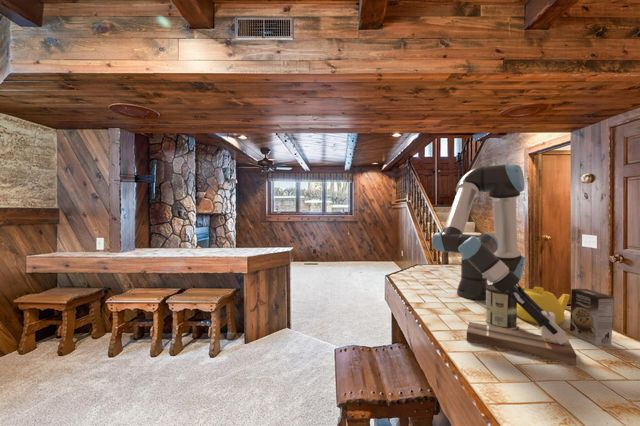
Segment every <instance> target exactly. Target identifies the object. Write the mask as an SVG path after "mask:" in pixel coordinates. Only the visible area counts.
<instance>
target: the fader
mask: <svg viewBox="0 0 640 426" xmlns="http://www.w3.org/2000/svg"><path fill="white" fill-rule="evenodd" d="M541 313H542V314H543V315H544V316H545V317H546V318H547V319H549V320H550V321H551V322H552V323H553V324H554V325H555V315H554V313H553V312H548V311H541ZM540 334H541V336H542V337H543V338H545V341H547V342H550V339H554V340H555V338H554V337H553V336H552V335H551V334H550V333H549V332H548V331H547V330H546V329H545V328H544V327H543V326H542V327H540Z"/></svg>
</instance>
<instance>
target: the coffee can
mask: <svg viewBox="0 0 640 426" xmlns="http://www.w3.org/2000/svg"><path fill="white" fill-rule="evenodd" d="M517 318H518V316H517V302H515V300H513V299H512V297H511V295H510V292H509V291H506V292H504V293H500V292H499V291H498V290H497V289H496V288H495V287H494V286H493V283H492V284H488V285H486V300H485V323H486V325H489V326H494V327H499V328H505V329H510V330H516V329H517V328H518V327H517V325H518V324H517V322H518V320H517Z"/></svg>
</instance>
